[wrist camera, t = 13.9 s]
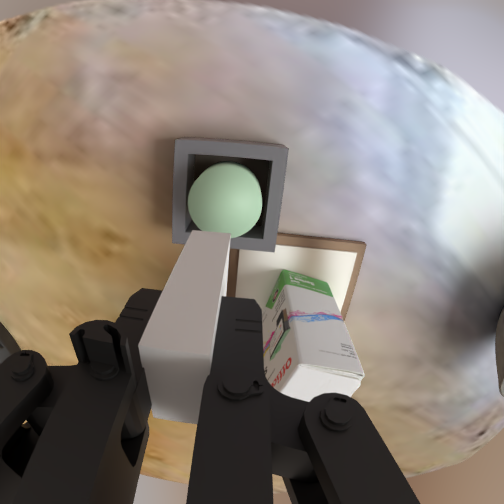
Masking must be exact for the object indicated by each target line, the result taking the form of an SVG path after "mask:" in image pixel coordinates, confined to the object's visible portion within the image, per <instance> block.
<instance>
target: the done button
mask: <svg viewBox="0 0 504 504" xmlns="http://www.w3.org/2000/svg"><path fill="white" fill-rule="evenodd" d="M188 209H189V213H190V216H191V218H192V220H193V221H194V223H195V224H196V225H197V227H198V228H199V229H200V230H202V231H209V232H220V233H231V238H235V237H238V236H241V235H243V234H245V233H246V232H248V231H249V230H250V229H251V228H252V227H253V226H254V225H255V224H256V222H257V221H258V219H259V217H260V214H261V210H262V196H261V188H260V184H259V181H258V179H257V177H256V176H255V174H254V173H253V172H252V171H251V170H250V169H249V168H248V167H246V166H244V165H243V164H240V163H237V162H233V161H223V162H218V163H216V164H213V165H211V166H210V167H208V168H207V169H206V170H205V171H204V172H203V173H202V174H201V175H200V176H199V177H198V178H197V180H196V181H195V182H194V184H193V185H192V187H191V189H190V192H189V196H188Z"/></svg>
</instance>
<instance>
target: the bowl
mask: <svg viewBox="0 0 504 504" xmlns="http://www.w3.org/2000/svg"><path fill="white" fill-rule="evenodd" d="M495 353H496V365H497V373H498V382H499V390H500V393H501V395H502V396H503V397H504V307H503V309H502V312H501V314H500V317H499V320H498V323H497V328H496V338H495Z"/></svg>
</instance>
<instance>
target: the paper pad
mask: <svg viewBox="0 0 504 504" xmlns="http://www.w3.org/2000/svg"><path fill="white" fill-rule="evenodd" d="M365 249H366V244H365V242H358V241H349V240H340V239H331V238H322V237H312V236H303V235H293V234H283V233H277V240H276V247H275V252H264V251H253V250H242V249H231V248H230V259H229V273H228V286H227V297H237V298H248V299H255V300H256V302H257V303H258V305H259V306H260V308H261V309H262V312H263V310H264V308H265V306H266V304H267V302H268V300H269V297H270V295H271V293H272V291H273V289H274V287H275V284H276V282H277V280H278V278H279V276H280V273H281V271H282V270H288V271H292V272H295V273H299V274H302V275H305V276H308V277H312V278H315V279H318V280H321V281H324V282H327V283H328V285H329V287H330V289H331V292H332V294H333V297H334V299H335V301H336V303H337V306H338V308H339V311H340V313H341V316H342V318H343V321H344V320H345V317H346V314H347V311H348V308H349V305H350V302H351V298H352V295H353V292H354V288H355V285H356V282H357V278H358V275H359V271H360V267H361V264H362V260H363V256H364V253H365Z"/></svg>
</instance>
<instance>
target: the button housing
mask: <svg viewBox="0 0 504 504" xmlns="http://www.w3.org/2000/svg"><path fill="white" fill-rule="evenodd" d="M288 150H289V148H287V147H286V146H285V145H278V144H270V143H261V142H251V141H240V140H228V139H213V138H196V137H182V138H179V139H175V153H174V174H173V211H172V243H176V244H186V242H187V240H188V238H189V236H190V234H191V232H192V230H197V231H202V230H200V229H199V228H198V227H197V225H196V224H195V223H194V221H193V220H192V218H191V216H190V213H189V209H188V196H189V192H190V189H191V187H192V185H193V183H194V165H195V154H201V155H217V156H230V157H241V158H252V159H262V160H270V163H269V171H268V180H267V188H266V197H265V205H264V214H263V222H262V226H258V225H254V226H253V227H252V228H251V229H250V230H249V231H248V232H246V233H245V234H243V235H241V236H238V237H235V238H230V248H231V249H242V250H253V251H264V252H275V247H276V240H277V233H278V226H279V218H280V211H281V204H282V196H283V189H284V181H285V174H286V166H287V158H288Z"/></svg>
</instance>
